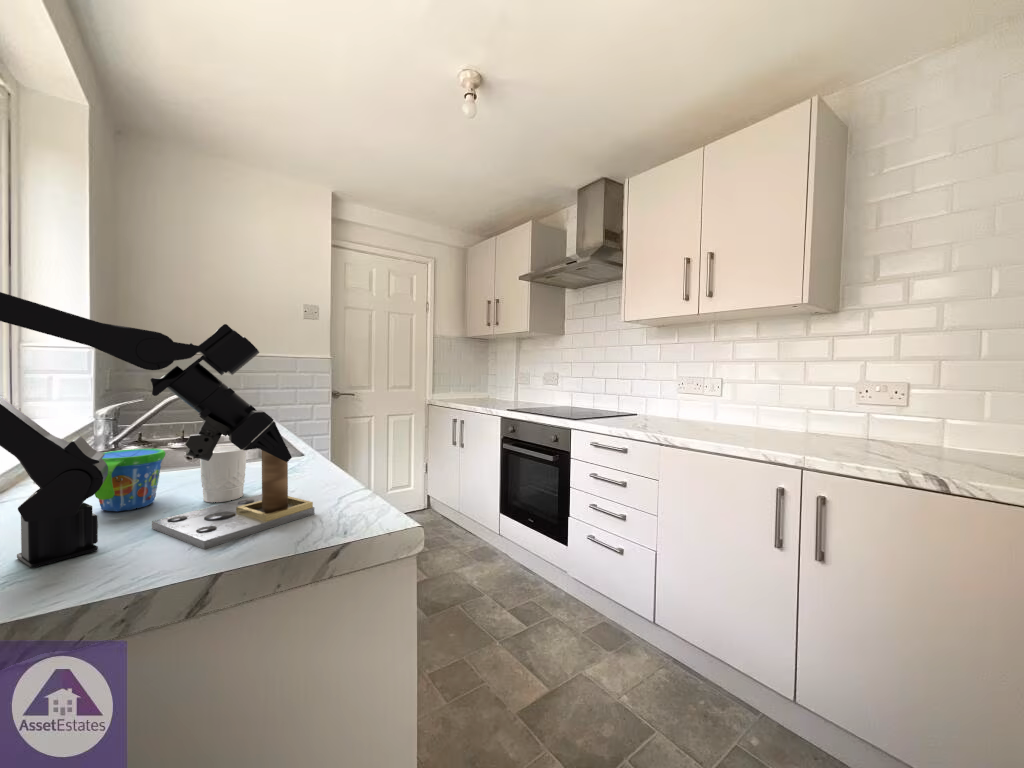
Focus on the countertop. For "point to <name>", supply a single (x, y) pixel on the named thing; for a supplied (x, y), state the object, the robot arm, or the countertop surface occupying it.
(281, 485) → the dowel
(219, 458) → the white cup
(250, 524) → the flange plate
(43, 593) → the countertop surface
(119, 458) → the snack cup
